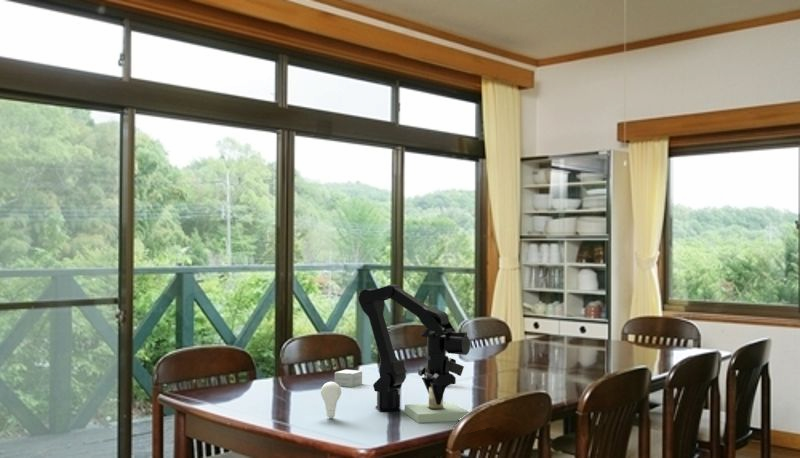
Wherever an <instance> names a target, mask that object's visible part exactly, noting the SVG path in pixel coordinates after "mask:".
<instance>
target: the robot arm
mask: <svg viewBox="0 0 800 458" xmlns="http://www.w3.org/2000/svg"><path fill="white" fill-rule="evenodd" d="M357 297H358V298H357V299H358V303H359V305H360V307H361V311H362V312H364V314H365V315H366V316H367V317H368V320H369V323H370V327H371V330H372V331H371V332H372V334H373V337H374V341H375V345H376V348H377V351H378V356H379V358H380V363H379V369H378V372H379V378H378V379H377V380H376V381H375V382H374V383H373V385H372V387H373V390H374V392H376V405H375V408H376V409H377V410H378V411H379V412H395V411H396V412H397V411H400V409H401V407H400V406H401V404H400V403H401V401H400V400H401V395H400V394H399V390H400V389H401V388H402V385H403V383H405V380H406V378H407V372H408V371H407V369H406V368H405V362H404V360H403V359H401V360H399V359H398V358H397V357H396V354H395V350H394V347H393V345H392V341H391V337H390V333H389V330H388V326H387V322H386V318H385V315H384V312H385V301H388V300H390V299H391V300H392V301H394V302H395V303H396V304H398V305H400V306H401V307H403V308H404V309H406V311H408V312H410V313H411V314H413V315H414V316H416V318H418V320H419V322H420V323H421V324H422V325H423V327H425V330H424V332H423V333H421V335H420V337H422V338H427V340H426V341H427V345H426V348H427V352H426V354H424V355H425V356H424V358H425V359H426V360H427V362H426V365H421V366H419V367H418V368H417V373H418V374H417V375H418V376H419V377H421V380H422V382H423V384H424V386H425V388H426V391H427V393H428V394H429V387H431V388H432V391H433V394H434V398H435V401H436V404H437V405H440V404H441V401H442V397H443V398H444V394H445V391H446V388H447V387H449V386H450V385H456V383H457V382H456V381H457V380H456V378H457V377H456V376H454V375H453V374H456V375H457V376H460V377H461V376H462V374H463V371H464V368H465V366H464V365H462V364H460V363H457V362H456V361H457V359H454V358H452V357H450V358H449V355H448V356H447V355H446V353H447V354H452V355H464V356H467V355H469V353H470V350H471V342H470V338H469V336H468V332H466V331H462V332H461V331H456V330H455V328H454V326H453V324H452V323H451V321H450V320H449V315H448V314H447V312H445V311H443V310H441V309H439V308H437V307H436V308H435V307H432V306H429V305H427V304H425V303H424V302H422V301H421V300H419V299H418V298H416V297H414V296H413V295H411V293H408V292H407V291H405V290H404V289H402V288H401V287H400V286H399V285H398V284H388V285H386V286H383V287H379V288H367V289H362V290H361V291H360V293H359V295H358V296H357ZM422 376H423V377H422Z"/></svg>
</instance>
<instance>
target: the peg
mask: <svg viewBox="0 0 800 458" xmlns="http://www.w3.org/2000/svg"><path fill="white" fill-rule="evenodd" d="M443 403H444V396H443V397H442V401H441V404H440V405H437V404H436V401H435V398H434V394H433V391H432V388H431V387H429V393H428V404H429V409H430V410H442V409H443Z"/></svg>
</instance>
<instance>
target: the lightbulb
mask: <svg viewBox="0 0 800 458" xmlns="http://www.w3.org/2000/svg"><path fill="white" fill-rule="evenodd" d="M320 395H321V397H322V400H323V402H324V406H325V410H326V417H327V418H328V419H333V418H334V417H335V415H336V410H337V404H338V401H339V400H340V397H341V396H342V388H341V386H339V385H338V384H337V383H335V381H328V382H326V383H324V384H323V386H322V387H321V389H320Z"/></svg>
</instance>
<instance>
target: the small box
mask: <svg viewBox="0 0 800 458" xmlns="http://www.w3.org/2000/svg"><path fill="white" fill-rule="evenodd" d="M334 382H335V383H337V384H338V385H339V386H340V387H346V386H348V388H354V387H357V386H360V385H362V384H363V371H362V370H355V369H342V370H339V371H335V372H334ZM353 386H354V387H353Z"/></svg>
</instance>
